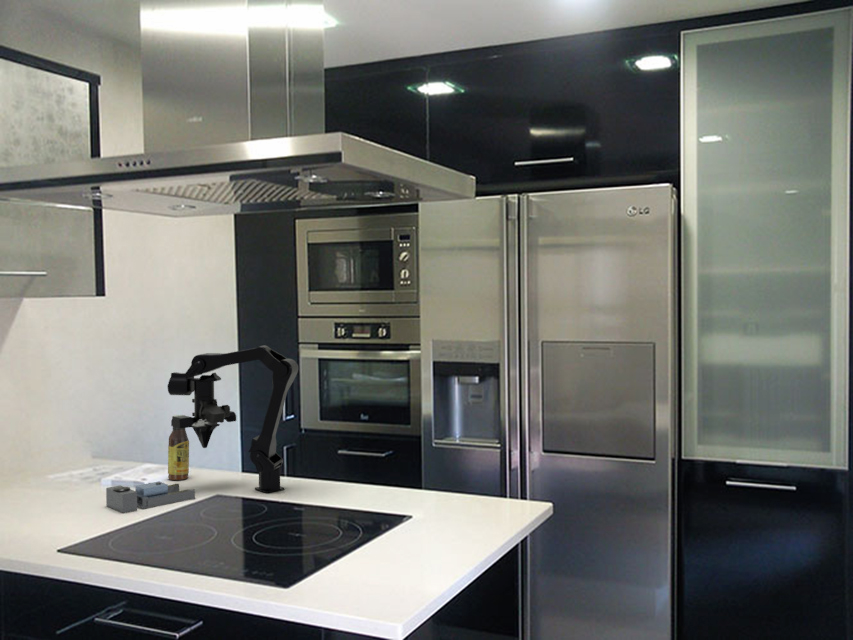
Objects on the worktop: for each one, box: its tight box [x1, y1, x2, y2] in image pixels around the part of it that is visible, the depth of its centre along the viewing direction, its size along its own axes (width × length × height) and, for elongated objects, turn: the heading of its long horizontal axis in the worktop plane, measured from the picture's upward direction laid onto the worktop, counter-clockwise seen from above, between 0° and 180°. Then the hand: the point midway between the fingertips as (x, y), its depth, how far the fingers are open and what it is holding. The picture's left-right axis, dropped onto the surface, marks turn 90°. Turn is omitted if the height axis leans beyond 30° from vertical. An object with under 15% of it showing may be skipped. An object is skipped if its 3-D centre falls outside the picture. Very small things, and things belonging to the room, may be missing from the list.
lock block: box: [134, 481, 169, 497], centre depth 220 cm, size 5×7×5 cm
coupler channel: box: [105, 483, 196, 514], centre depth 220 cm, size 11×21×5 cm, turn 136°
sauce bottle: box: [167, 414, 190, 481], centre depth 248 cm, size 6×6×20 cm
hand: (204, 447), depth 236 cm, fingers closed
